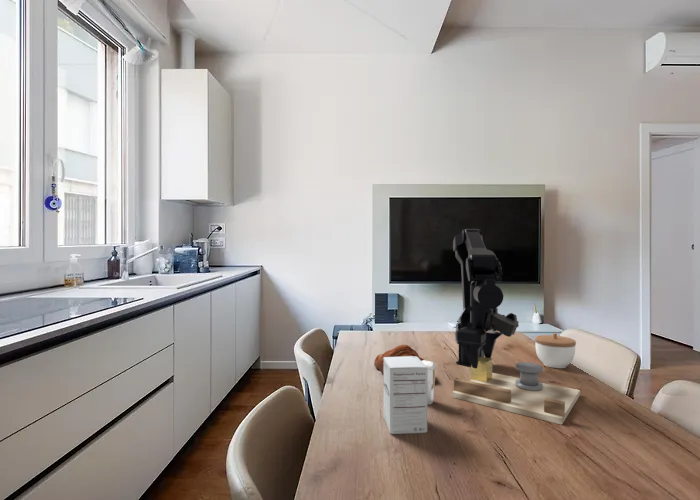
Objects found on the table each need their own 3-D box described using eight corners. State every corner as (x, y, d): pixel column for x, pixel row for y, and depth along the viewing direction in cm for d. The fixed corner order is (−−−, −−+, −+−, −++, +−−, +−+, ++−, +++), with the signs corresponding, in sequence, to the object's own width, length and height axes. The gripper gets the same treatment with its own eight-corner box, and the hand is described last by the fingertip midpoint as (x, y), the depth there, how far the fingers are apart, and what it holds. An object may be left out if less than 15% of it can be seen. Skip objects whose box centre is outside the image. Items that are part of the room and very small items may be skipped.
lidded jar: (581, 372, 112) (581, 338, 111) (540, 369, 114) (540, 336, 114) (568, 361, 122) (568, 330, 122) (530, 359, 124) (531, 329, 124)
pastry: (433, 367, 116) (433, 340, 116) (436, 386, 101) (436, 354, 101) (375, 365, 119) (375, 338, 119) (370, 382, 104) (370, 351, 104)
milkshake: (426, 408, 86) (426, 362, 86) (411, 400, 91) (411, 356, 91) (442, 404, 88) (442, 359, 88) (427, 396, 93) (427, 353, 93)
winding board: (451, 397, 93) (451, 381, 93) (483, 375, 108) (483, 361, 108) (561, 424, 78) (561, 406, 78) (579, 395, 94) (579, 379, 94)
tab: (471, 379, 102) (471, 359, 102) (476, 375, 105) (477, 356, 105) (486, 382, 99) (486, 362, 99) (492, 378, 102) (492, 358, 102)
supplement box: (382, 418, 82) (382, 356, 82) (418, 416, 82) (418, 355, 82) (389, 435, 74) (389, 367, 74) (428, 433, 75) (428, 366, 75)
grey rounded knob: (512, 387, 96) (512, 366, 96) (519, 380, 101) (519, 360, 101) (539, 393, 92) (539, 371, 92) (545, 385, 97) (545, 365, 97)
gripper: (502, 310, 90) (501, 380, 90) (525, 301, 104) (525, 361, 104) (455, 306, 97) (454, 370, 97) (483, 298, 111) (483, 353, 111)
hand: (481, 363), depth 102 cm, fingers open, 9 cm apart
